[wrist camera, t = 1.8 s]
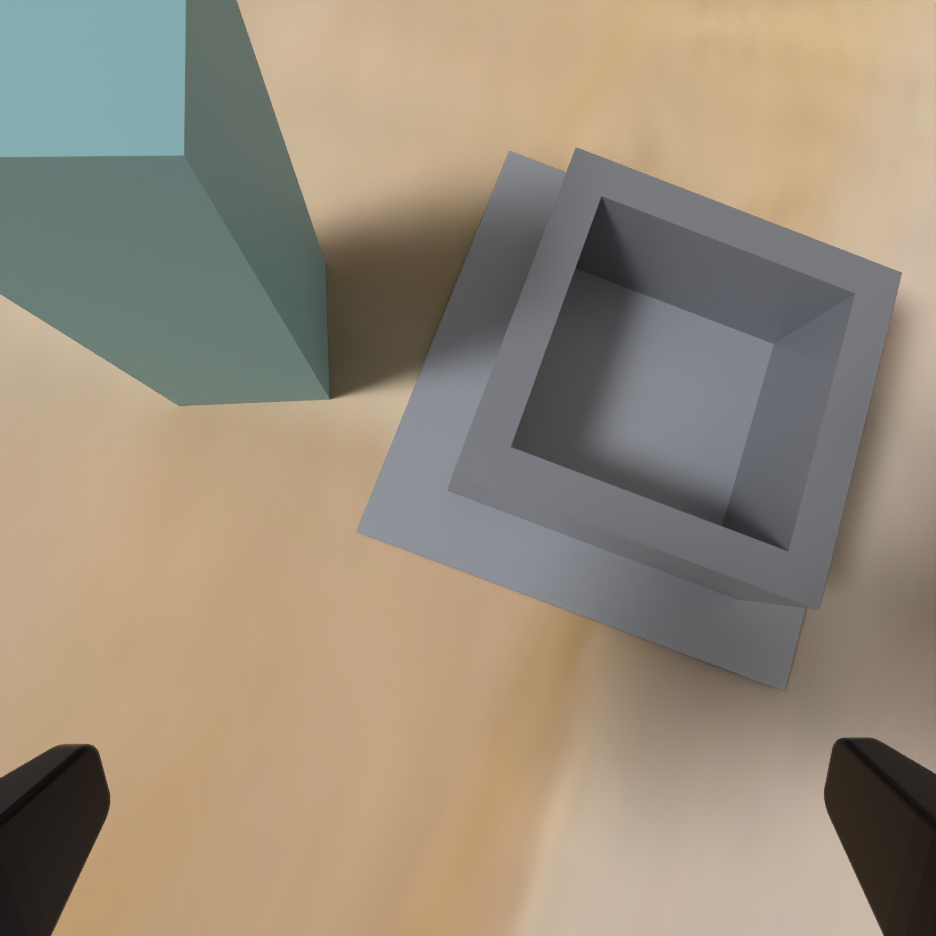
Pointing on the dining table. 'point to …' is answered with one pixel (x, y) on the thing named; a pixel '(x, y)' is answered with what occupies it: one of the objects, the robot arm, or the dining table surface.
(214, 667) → the dining table surface
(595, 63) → the dining table surface
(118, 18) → the teal block
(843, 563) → the dining table surface
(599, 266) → the well
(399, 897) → the dining table surface
